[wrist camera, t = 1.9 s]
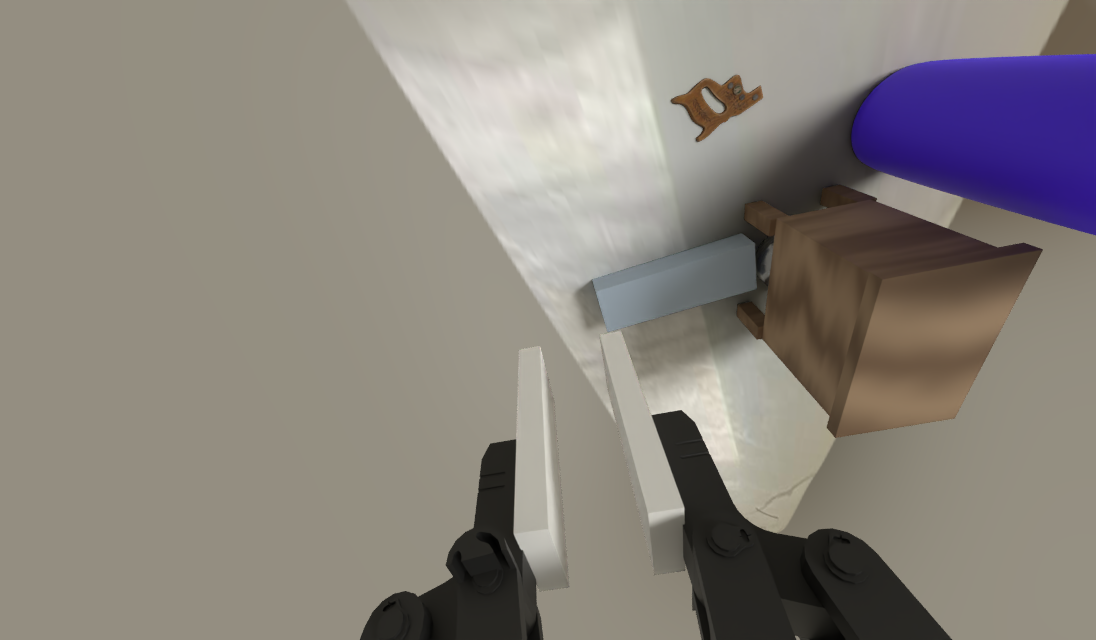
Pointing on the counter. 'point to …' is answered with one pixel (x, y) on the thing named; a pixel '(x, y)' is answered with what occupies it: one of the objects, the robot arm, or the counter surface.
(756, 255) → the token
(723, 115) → the saw handle
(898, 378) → the cabinet
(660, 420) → the robot arm
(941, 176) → the bottle
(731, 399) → the counter surface
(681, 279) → the batten
